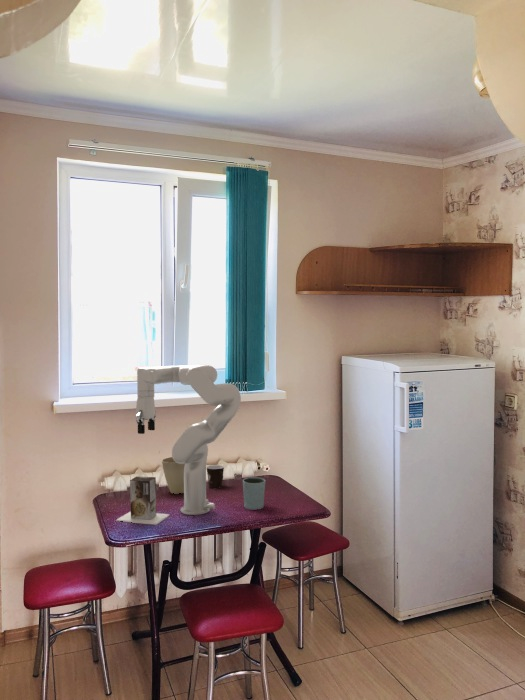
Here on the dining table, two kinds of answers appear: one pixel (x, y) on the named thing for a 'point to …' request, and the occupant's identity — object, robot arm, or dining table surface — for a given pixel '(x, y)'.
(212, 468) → the coffee mug
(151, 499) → the coffee box
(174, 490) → the plant pot
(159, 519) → the mat
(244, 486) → the teal cup
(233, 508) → the dining table surface
